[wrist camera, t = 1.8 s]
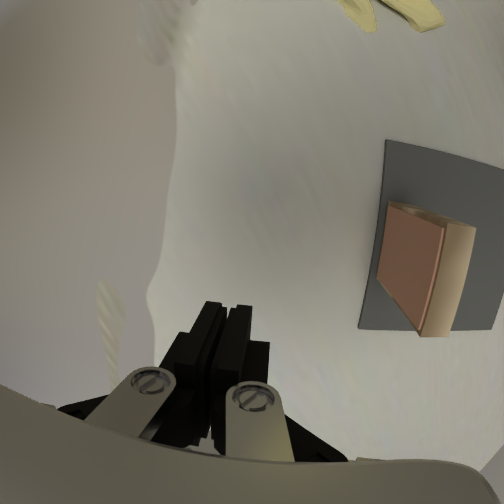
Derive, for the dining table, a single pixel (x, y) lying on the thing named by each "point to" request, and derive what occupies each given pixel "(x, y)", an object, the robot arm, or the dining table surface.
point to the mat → (453, 206)
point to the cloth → (407, 3)
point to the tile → (425, 265)
